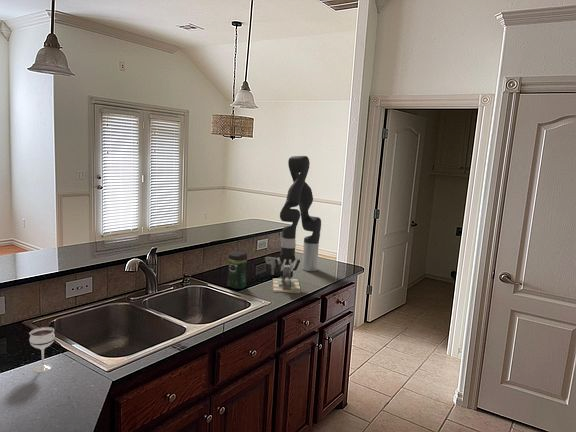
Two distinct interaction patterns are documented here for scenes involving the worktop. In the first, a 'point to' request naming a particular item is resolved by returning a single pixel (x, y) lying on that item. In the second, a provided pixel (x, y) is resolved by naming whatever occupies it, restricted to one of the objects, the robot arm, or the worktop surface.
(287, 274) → the coupling block
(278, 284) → the shaft rig
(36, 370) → the wineglass
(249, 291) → the worktop surface
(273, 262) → the mechanical component
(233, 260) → the coffee jar
